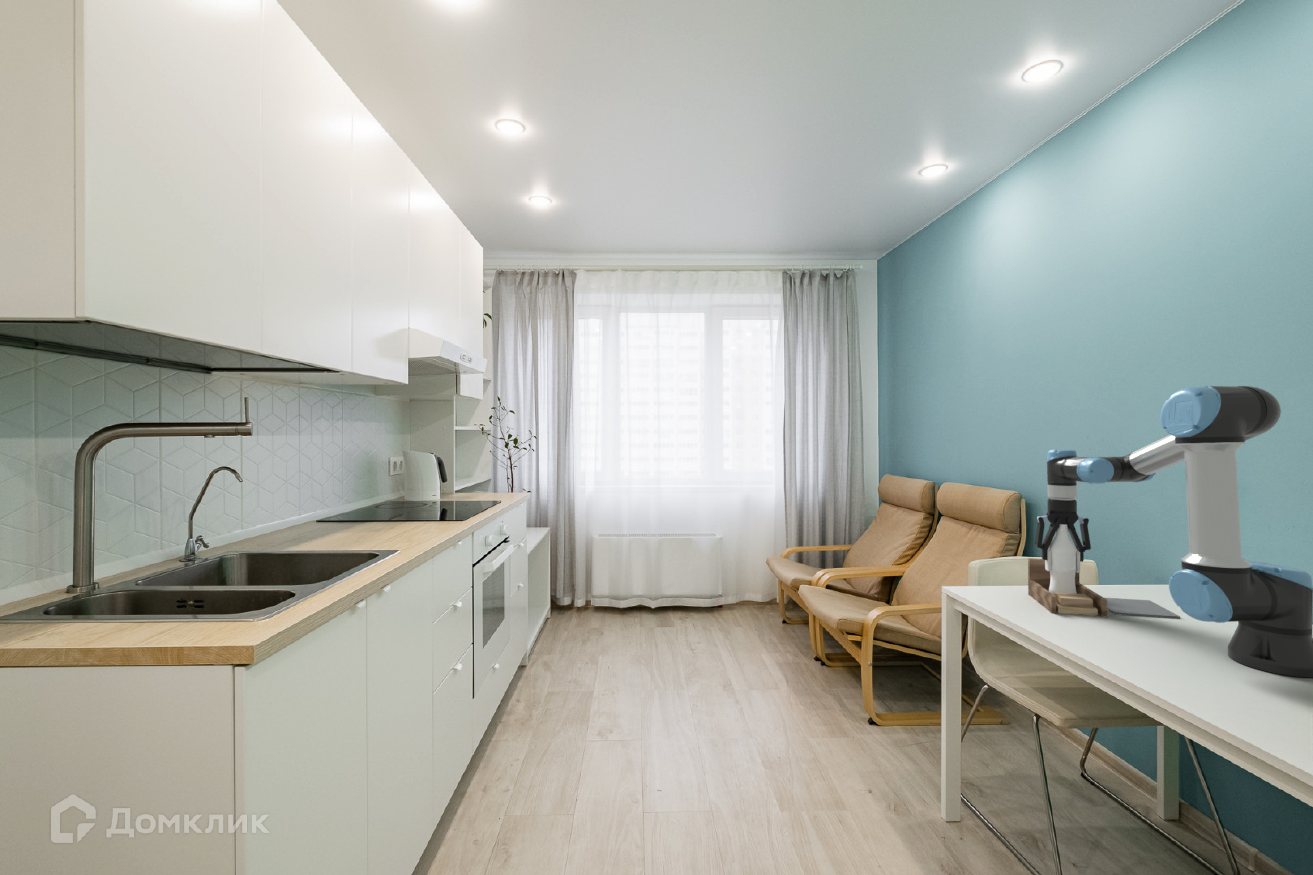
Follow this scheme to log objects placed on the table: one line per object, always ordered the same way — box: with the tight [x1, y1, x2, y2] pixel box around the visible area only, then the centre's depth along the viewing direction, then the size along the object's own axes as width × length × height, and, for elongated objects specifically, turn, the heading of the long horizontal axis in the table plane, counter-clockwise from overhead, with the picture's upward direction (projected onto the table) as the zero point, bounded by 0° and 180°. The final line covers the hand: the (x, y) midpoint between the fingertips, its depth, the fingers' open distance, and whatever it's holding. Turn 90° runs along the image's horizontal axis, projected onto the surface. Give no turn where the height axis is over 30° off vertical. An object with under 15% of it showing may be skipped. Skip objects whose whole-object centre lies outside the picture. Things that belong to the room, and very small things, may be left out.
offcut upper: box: [1054, 592, 1093, 608], centre depth 171 cm, size 6×8×2 cm
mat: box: [1104, 597, 1181, 620], centre depth 172 cm, size 16×16×1 cm
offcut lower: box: [1056, 602, 1099, 617], centre depth 171 cm, size 7×10×2 cm
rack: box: [1027, 557, 1108, 617], centre depth 176 cm, size 20×14×12 cm
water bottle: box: [1048, 524, 1077, 595], centre depth 178 cm, size 7×7×25 cm
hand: (1062, 570), depth 178 cm, fingers closed on water bottle, 7 cm apart
